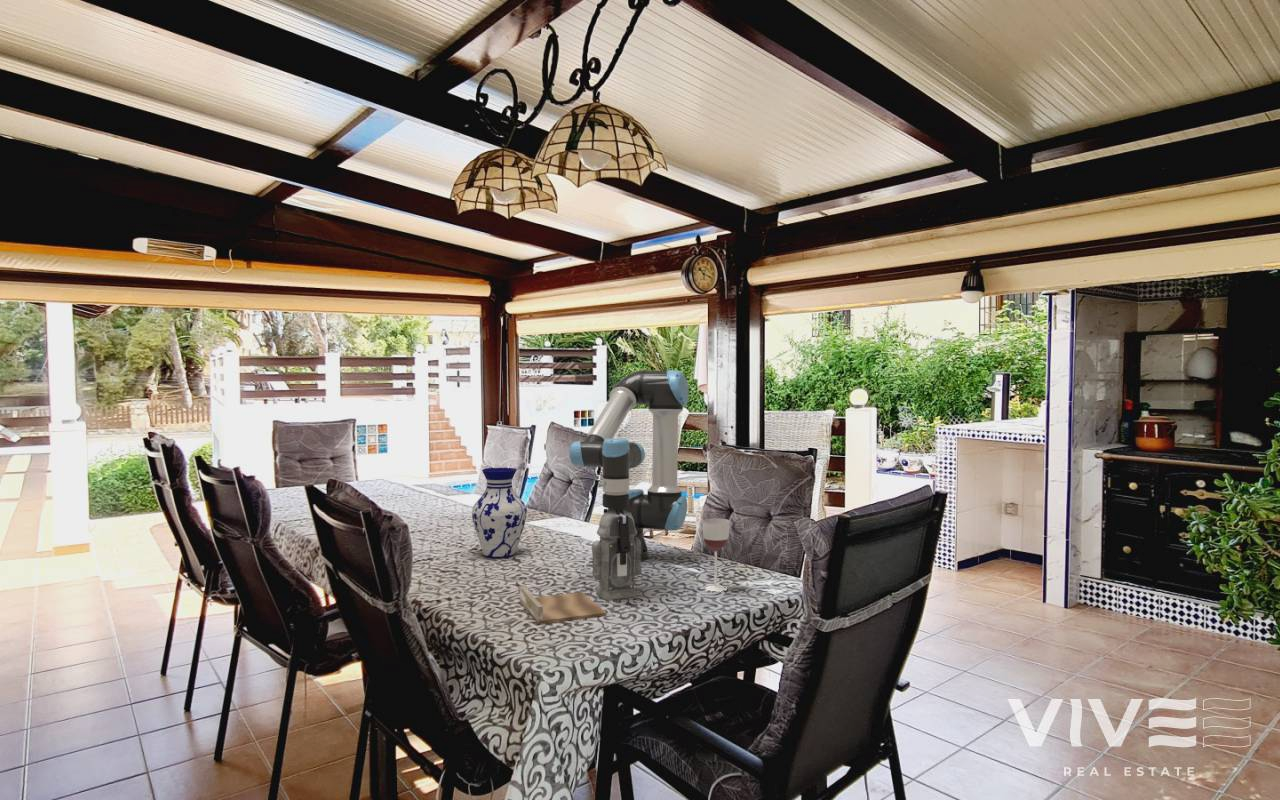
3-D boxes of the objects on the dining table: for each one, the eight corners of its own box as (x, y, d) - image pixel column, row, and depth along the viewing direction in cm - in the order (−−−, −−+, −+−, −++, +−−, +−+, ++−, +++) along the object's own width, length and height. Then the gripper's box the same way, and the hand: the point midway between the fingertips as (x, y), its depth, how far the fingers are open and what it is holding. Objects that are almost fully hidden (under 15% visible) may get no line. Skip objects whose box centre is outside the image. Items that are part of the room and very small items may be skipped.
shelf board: (582, 594, 205) (582, 579, 205) (606, 615, 187) (606, 599, 187) (519, 602, 198) (519, 586, 198) (537, 624, 180) (537, 607, 180)
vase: (480, 563, 240) (479, 474, 240) (465, 552, 257) (465, 468, 257) (534, 557, 249) (534, 471, 249) (517, 546, 266) (517, 465, 266)
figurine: (645, 595, 204) (646, 508, 203) (598, 601, 199) (598, 511, 198) (632, 586, 213) (632, 502, 212) (586, 592, 207) (587, 505, 207)
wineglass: (732, 586, 214) (732, 519, 214) (725, 594, 206) (726, 524, 206) (705, 583, 217) (706, 517, 216) (698, 591, 209) (698, 522, 208)
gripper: (591, 488, 214) (590, 563, 215) (617, 499, 194) (616, 582, 194) (614, 487, 217) (614, 561, 217) (642, 497, 197) (642, 579, 197)
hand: (615, 571), depth 206 cm, fingers closed on figurine, 9 cm apart
